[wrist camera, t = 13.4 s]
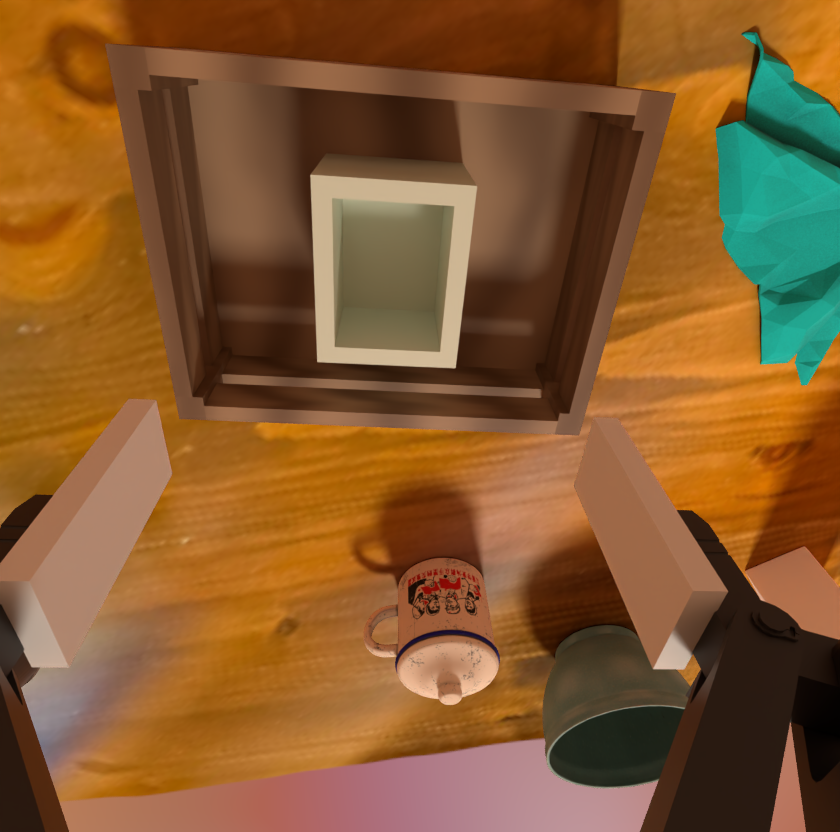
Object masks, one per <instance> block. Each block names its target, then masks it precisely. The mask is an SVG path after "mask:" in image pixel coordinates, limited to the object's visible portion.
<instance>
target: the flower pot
mask: <svg viewBox="0 0 840 832" xmlns="http://www.w3.org/2000/svg"><path fill="white" fill-rule="evenodd" d="M555 662H556V663H555V665H554V667H553V669H552V671H551V673H550V676H549V679H548V682H547V685H546V689H545V694H544V700H543V730H544V737H545V742H546V745H545V754H546V761H547V765H548V767H549V769H550V770H551V772H552V773H553V774H555V775H556V776H558V777H559V778H561V779H563V780H565V781H567V782H570V783H573V784H576V785H581V786H586V787H593V788H622V787H632V786H638V785H643V784H648V783H652V782H656V781H659V778H660V775H661V773H662V770H663V767H664V765H665V762H666V759H667V756H668V754H669V751H670V748H671V745H672V743H673V740H674V737H675V734H676V732H677V729H678V726H679V723H680V721H681V718H682V715H683V712H684V710H685V707H686V704H687V701H688V699H689V698H688V697H686V696H685V695H686V694H687V692H688V690H689V689H690V686H689V684H688V683H687V682H686V680H685V679H684V678H683V677H682V675H681V674H680V673H679V672H678V671H677V670H676V669H653V668H652V666H651V664H650V661H649V659H648V657H647V654H646V652H645V650H644V647H643V645H642V643H641V641H640V639H639V638H638V636H637V635H636V634H635V633H634V632H632V631H631V630H629V629H627V628H624V627H620V626H614V625H600V626H594V627H589V628H586V629H583V630H580V631H578V632H576V633H573V634H572V635H570V636H569V637H567V638H566V639H565V640H564V641H563V642H562V643H561V644H560V645H559V646H558V648H557V650H556V654H555Z"/></svg>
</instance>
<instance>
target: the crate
mask: <svg viewBox="0 0 840 832" xmlns="http://www.w3.org/2000/svg"><path fill="white" fill-rule="evenodd" d="M105 45H106V50H107V55H108V60H109V65H110V70H111V75H112V80H113V85H114V90H115V95H116V101H117V106H118V111H119V116H120V121H121V126H122V131H123V136H124V141H125V146H126V151H127V156H128V161H129V166H130V171H131V176H132V181H133V186H134V191H135V196H136V201H137V207H138V212H139V217H140V222H141V227H142V232H143V237H144V242H145V247H146V252H147V257H148V262H149V267H150V272H151V277H152V282H153V287H154V292H155V297H156V302H157V307H158V313H159V318H160V323H161V328H162V333H163V338H164V343H165V348H166V353H167V358H168V363H169V368H170V373H171V378H172V383H173V388H174V393H175V398H176V403H177V408H178V413H179V419H197V420H221V421H245V422H269V423H293V424H317V425H341V426H365V427H389V428H413V429H437V430H461V431H485V432H509V433H534V434H558V435H579V434H580V430H581V427H582V423H583V420H584V416H585V412H586V409H587V405H588V402H589V398H590V395H591V391H592V388H593V384H594V381H595V377H596V374H597V370H598V367H599V363H600V360H601V356H602V353H603V349H604V346H605V342H606V339H607V335H608V332H609V328H610V324H611V321H612V317H613V314H614V310H615V307H616V303H617V300H618V296H619V293H620V289H621V286H622V282H623V279H624V275H625V272H626V268H627V265H628V261H629V258H630V254H631V251H632V247H633V244H634V240H635V236H636V233H637V229H638V226H639V222H640V219H641V215H642V212H643V208H644V205H645V201H646V198H647V194H648V191H649V187H650V184H651V180H652V177H653V173H654V170H655V166H656V163H657V159H658V156H659V152H660V148H661V145H662V141H663V138H664V134H665V131H666V127H667V124H668V120H669V117H670V113H671V110H672V106H673V103H674V99H675V96H676V93H668V92H660V91H652V90H644V89H636V88H628V87H620V86H610V85H598V84H587V83H575V82H564V81H552V80H541V79H530V78H518V77H507V76H495V75H484V74H472V73H461V72H450V71H438V70H427V69H415V68H404V67H392V66H381V65H369V64H358V63H347V62H335V61H324V60H312V59H301V58H289V57H278V56H267V55H255V54H244V53H232V52H221V51H209V50H198V49H186V48H175V47H159V46H140V45H121V44H105ZM326 153H328V154H342V155H357V156H371V157H385V158H399V159H413V160H428V161H442V162H456V163H463V164H464V166H465V167H466V169H467V171H468V172H469V174H470V175H471V177H472V179H473V180H474V182H475V183H476V185H477V192H476V200H475V209H474V217H473V226H472V234H471V242H470V251H469V259H468V268H467V276H466V285H465V293H464V302H463V310H462V319H461V327H460V335H459V344H458V352H457V361H456V368H437V367H415V366H393V365H370V364H348V363H326V362H317V339H316V312H315V285H314V258H313V231H312V204H311V177H310V175H311V173H312V172H313V171H314V169H315V168H316V167H317V165H318V164H319V163H320V161H321V160H322V159H323V157H324V156H325V155H326Z"/></svg>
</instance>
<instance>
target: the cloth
mask: <svg viewBox="0 0 840 832" xmlns="http://www.w3.org/2000/svg"><path fill="white" fill-rule="evenodd" d="M742 35H743V36H744V37H746V38H747V39H749V40H750V41H751V42H753V43H754V44H755V45H757V46H758V48H759V51H760V61H759V63H758V66H757V69H756V72H755V75H754V78H753V81H752V84H751V86H750V89H749V92H748V95H747V105H746V122H745V121H743V120H742V121H738V122H734V123H731V124H728V125H725V126H721V127H718V128H716V138H717V149H718V157H719V209H720V217H721V219H722V220H723V222H724V223H725V227H724V231H723V235H722V239H723V242H724V245H725V248H726V250H727V251H728V253H729V254H730V256H731V257H732V259H733V260H734V262H735V263H736V265H737V266H738V268H739V269H740V270H741V271H742V272H743V273H744V274H745V275H746V276H747V277H748V278H749V279H750V280H751V281H752V282H753V284H759V293H758V295H759V303H760V310H761V363H760V364H777V363H788V362H789V361H790V360H791V359H792V358H793V357H794V356H795V355H796V354H797V357H796V361H795V365H796V367H797V371H798V374H799V378H800V382H801V385H807V384H808V382H809V381H810V379H811V377H812V376H813V374H814V373H815V371H816V369H817V368H818V366H819V364H820V363H821V361H822V359H823V357H824V356H825V354H826V352H827V350H828V349H829V347H830V345H831V343H832V342H833V340H834V338H835V337H836V336H837V334H838V333H839V332H840V115H839V113H838V112H837V111H836V109H835V108H834V107H833V106H832V105H830V104H829V103H828V102H827V101H826V100H824V99H823V98H822V97H821V96H820V95H819V94H817V93H816V92H814V91H812V90H811V89H809V88H807V87H805V86H803V85H801V84H799V83H797V82H796V81H794V74H793V71H792V70H791V69H790V67H789V66H787V65H786V64H784V63H783V62H781V61H779V60H778V59H776V58H774V57H772V56H770V55H768V54H765V53H764V48H763V46H762V43H761V41H760V39H759V37H758V34H757V32H744V33H742Z"/></svg>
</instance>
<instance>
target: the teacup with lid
mask: <svg viewBox="0 0 840 832" xmlns="http://www.w3.org/2000/svg"><path fill="white" fill-rule="evenodd" d="M395 616H398V644H392V645H382V644H378V643H376V642H375V641H374V640H373V639H372V638H371V636H372V632H373V630H374V628H375V627H376V625H377V624H378V623H379V622H380V621H382V620H383V619H385V618H389V617H395ZM364 642H365V646H366V647H367V649H368V650H369V651H370V652H371V653H373V654H374V655H376V656H380V657H396V662H395V667H396V671H397V674H398V677H399V679H400V680H401V682H402V683H403V684H404V685H405V686H406V687H407V688H408V689H409V690H411V691H413V692H414V693H416V694H419V695H422V696H425V697H429V698H435V699H439V700H440V701H441V702H442V703H443V704H446V705H453V704H456V703H458V702H459V701H460V700H461V698H462V697H464V696H468V695H471V694H473V693H476V692H478V691H480V690H481V689H483V688H485V687H486V686H487V685H488V684H489V683H490V682H491V681H492V680H493V679H494V677H495V676H496V674H497V671H498V667H499V662H500V657H499V653H498V650H497V649H496V647H495V644H494V638H493V632H492V626H491V620H490V614H489V608H488V602H487V596H486V590H485V584H484V580H483V577H482V575H481V574H480V572H479V571H478V570H477V569H476V568H475V567H473V566H472V565H470V564H468V563H466V562H464V561H461V560H458V559H453V558H434V559H429V560H426V561H423V562H420V563H418V564H416V565H414V566H413V567H411V568H410V569H409V570H408V571H407V572H406V573H405V574H404V575H403V576H402V578H401V580H400V582H399V586H398V605H390V606H385V607H382V608H380V609H378V610H377V611H375V612H374V613H373V614H372V615H371V617H370V618H369V619H368V621H367V623H366V625H365V629H364Z"/></svg>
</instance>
